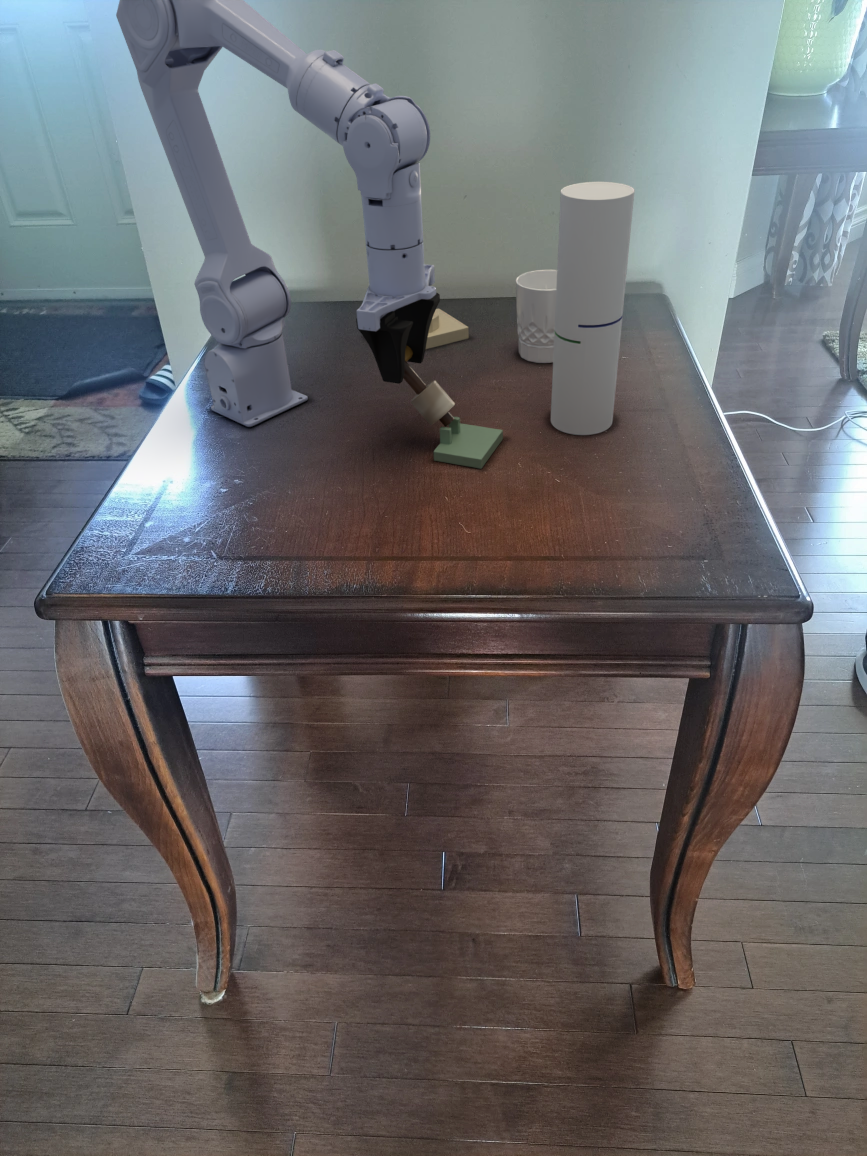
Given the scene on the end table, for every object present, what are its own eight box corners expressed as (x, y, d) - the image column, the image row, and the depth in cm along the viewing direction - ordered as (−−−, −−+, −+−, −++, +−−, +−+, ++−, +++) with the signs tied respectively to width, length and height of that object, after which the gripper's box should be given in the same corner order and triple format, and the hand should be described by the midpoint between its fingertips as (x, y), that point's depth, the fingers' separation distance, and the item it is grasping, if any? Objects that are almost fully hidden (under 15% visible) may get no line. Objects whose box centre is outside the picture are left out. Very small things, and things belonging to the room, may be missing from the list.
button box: (393, 357, 114) (391, 333, 112) (366, 336, 120) (364, 313, 118) (469, 338, 118) (468, 314, 116) (439, 319, 124) (438, 296, 122)
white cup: (572, 342, 115) (576, 268, 109) (574, 365, 109) (578, 289, 103) (515, 342, 116) (516, 269, 110) (513, 365, 110) (514, 290, 104)
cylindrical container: (611, 436, 93) (633, 199, 78) (547, 433, 95) (557, 199, 79) (613, 408, 99) (634, 181, 83) (553, 405, 100) (563, 181, 85)
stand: (433, 460, 91) (432, 436, 89) (457, 431, 96) (456, 408, 94) (481, 469, 89) (481, 444, 87) (503, 439, 94) (503, 415, 92)
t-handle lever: (372, 372, 89) (392, 354, 86) (391, 355, 92) (411, 337, 90) (430, 440, 91) (452, 424, 89) (447, 421, 94) (468, 405, 92)
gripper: (400, 268, 75) (408, 405, 83) (459, 224, 85) (462, 349, 94) (331, 261, 77) (347, 395, 86) (397, 219, 88) (405, 342, 96)
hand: (403, 371), depth 90 cm, fingers closed on t-handle lever, 5 cm apart
